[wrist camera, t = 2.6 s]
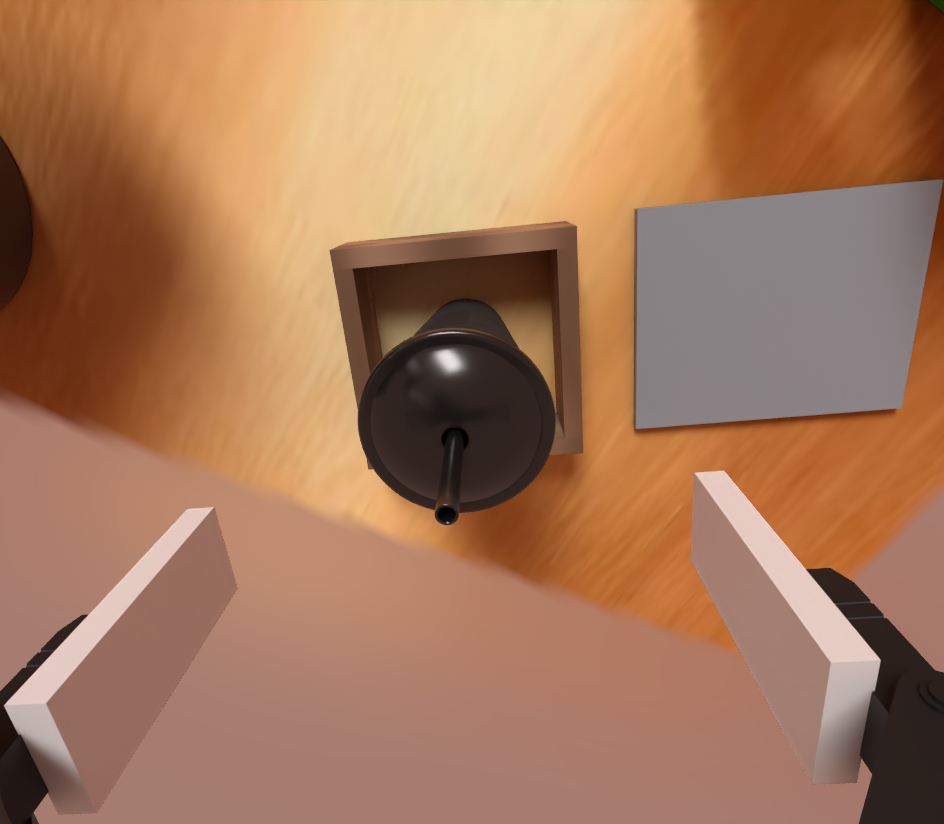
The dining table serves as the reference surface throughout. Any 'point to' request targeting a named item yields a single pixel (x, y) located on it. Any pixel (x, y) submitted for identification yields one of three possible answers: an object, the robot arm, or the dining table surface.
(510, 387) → the drinking cup
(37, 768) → the robot arm
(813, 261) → the slate mat
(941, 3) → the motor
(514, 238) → the walnut collar
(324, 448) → the dining table surface
